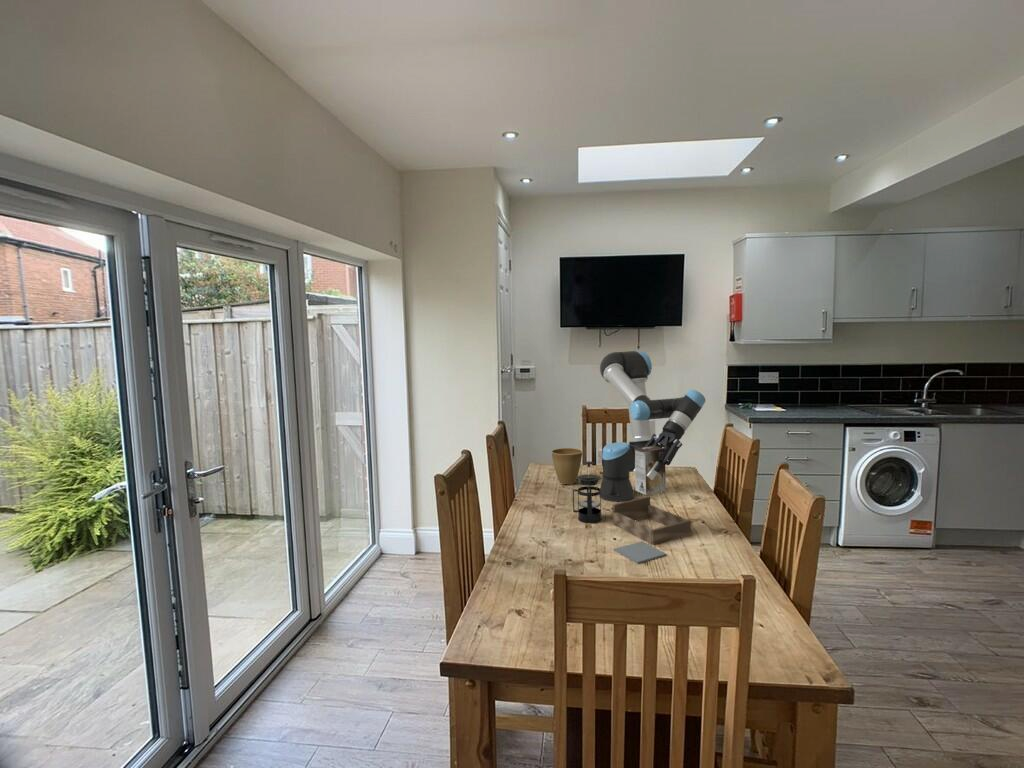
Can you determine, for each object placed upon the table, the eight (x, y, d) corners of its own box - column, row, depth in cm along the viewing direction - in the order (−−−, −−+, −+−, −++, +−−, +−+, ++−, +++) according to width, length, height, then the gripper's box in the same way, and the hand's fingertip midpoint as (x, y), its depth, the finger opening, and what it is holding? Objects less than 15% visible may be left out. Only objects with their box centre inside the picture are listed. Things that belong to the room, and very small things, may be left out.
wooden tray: (612, 524, 202) (612, 504, 201) (648, 516, 210) (647, 496, 209) (653, 544, 182) (653, 522, 182) (690, 534, 190) (690, 512, 189)
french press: (603, 515, 213) (602, 459, 211) (604, 523, 204) (603, 465, 201) (573, 514, 214) (572, 459, 212) (573, 523, 205) (571, 465, 203)
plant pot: (584, 487, 251) (584, 454, 250) (553, 488, 252) (552, 455, 250) (581, 478, 266) (580, 447, 265) (551, 479, 266) (550, 448, 265)
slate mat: (613, 550, 179) (613, 548, 179) (641, 543, 184) (641, 541, 184) (637, 563, 168) (637, 561, 168) (666, 555, 174) (666, 553, 173)
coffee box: (654, 486, 199) (654, 445, 198) (666, 491, 194) (666, 448, 192) (634, 490, 196) (634, 448, 194) (645, 495, 190) (645, 451, 188)
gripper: (701, 436, 191) (667, 488, 185) (663, 428, 208) (630, 475, 203) (690, 423, 188) (655, 475, 182) (652, 416, 205) (619, 463, 200)
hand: (642, 475), depth 192 cm, fingers closed on coffee box, 7 cm apart
